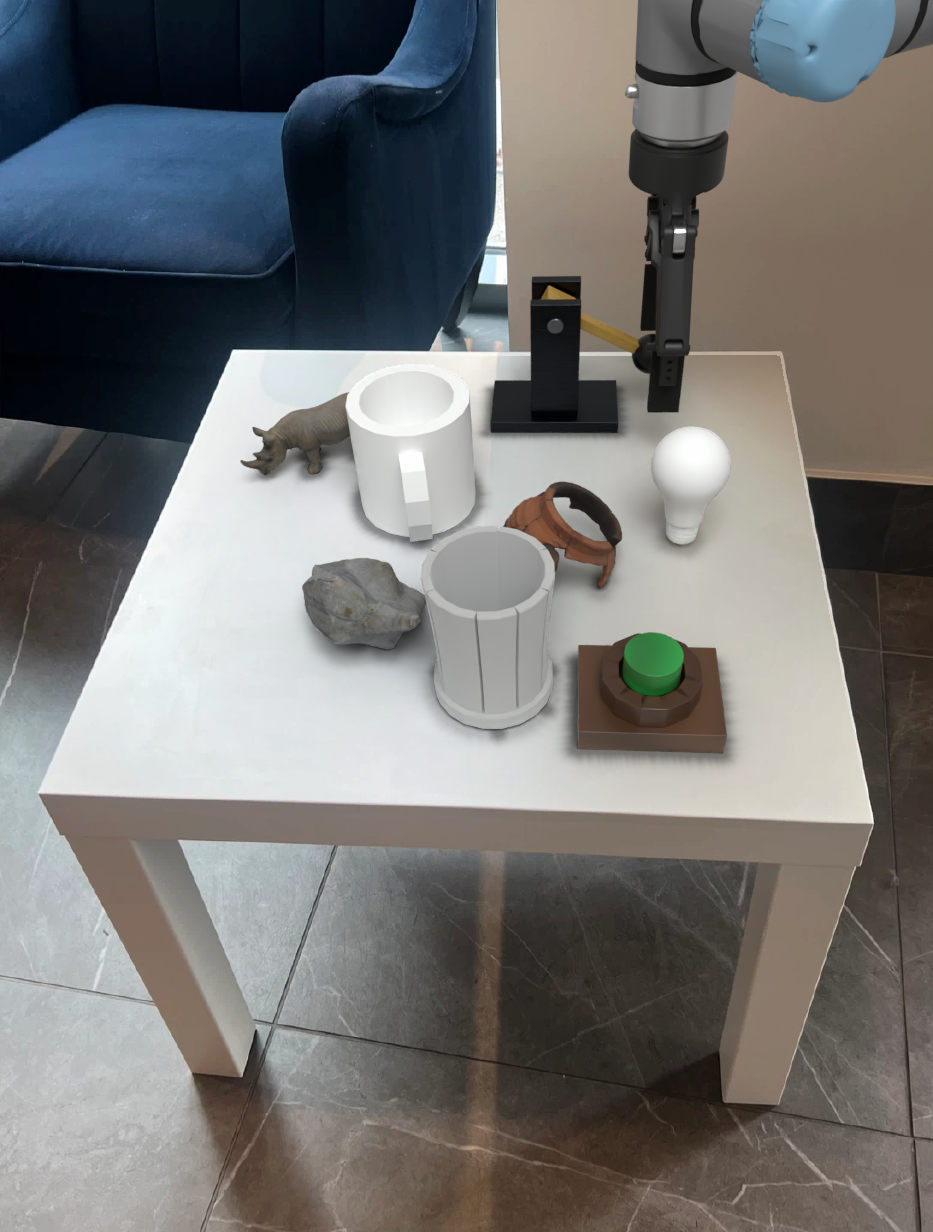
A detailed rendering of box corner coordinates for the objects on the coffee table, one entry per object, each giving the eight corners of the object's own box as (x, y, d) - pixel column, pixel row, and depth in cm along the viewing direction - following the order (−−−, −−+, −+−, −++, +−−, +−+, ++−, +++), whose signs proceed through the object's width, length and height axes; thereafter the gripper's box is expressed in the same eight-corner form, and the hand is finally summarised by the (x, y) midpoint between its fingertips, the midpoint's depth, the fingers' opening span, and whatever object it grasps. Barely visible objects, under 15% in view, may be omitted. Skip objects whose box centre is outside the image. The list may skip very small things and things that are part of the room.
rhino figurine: (239, 474, 94) (224, 421, 89) (373, 426, 97) (365, 373, 93) (254, 498, 91) (239, 445, 87) (391, 449, 95) (383, 395, 90)
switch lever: (656, 365, 95) (677, 336, 93) (658, 387, 93) (680, 357, 90) (533, 307, 92) (552, 275, 89) (531, 328, 89) (551, 295, 87)
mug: (490, 554, 84) (485, 453, 77) (369, 571, 84) (351, 470, 76) (467, 456, 94) (461, 356, 86) (358, 470, 93) (342, 371, 85)
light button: (678, 652, 71) (681, 632, 70) (682, 697, 68) (685, 677, 67) (621, 651, 72) (623, 631, 70) (623, 695, 69) (625, 675, 67)
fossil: (462, 622, 79) (456, 548, 73) (401, 702, 74) (389, 629, 68) (347, 576, 83) (332, 503, 78) (281, 649, 78) (260, 577, 72)
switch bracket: (615, 390, 100) (623, 269, 90) (617, 432, 95) (626, 310, 85) (495, 390, 101) (490, 271, 91) (490, 432, 96) (485, 311, 87)
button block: (712, 665, 75) (719, 628, 72) (723, 753, 69) (731, 718, 66) (577, 662, 76) (579, 626, 73) (577, 748, 70) (579, 714, 67)
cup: (393, 698, 74) (373, 583, 66) (453, 617, 80) (442, 501, 71) (519, 750, 70) (517, 636, 62) (574, 662, 76) (578, 545, 67)
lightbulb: (665, 507, 87) (677, 401, 79) (730, 533, 85) (750, 426, 76) (630, 548, 84) (639, 442, 76) (696, 576, 81) (713, 468, 73)
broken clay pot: (505, 525, 87) (554, 456, 82) (592, 590, 87) (647, 525, 82) (451, 590, 78) (502, 516, 73) (548, 663, 78) (607, 594, 73)
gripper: (625, 74, 87) (614, 299, 102) (637, 200, 69) (621, 449, 85) (714, 70, 86) (689, 298, 101) (748, 198, 69) (712, 449, 84)
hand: (658, 367), depth 93 cm, fingers open, 13 cm apart
